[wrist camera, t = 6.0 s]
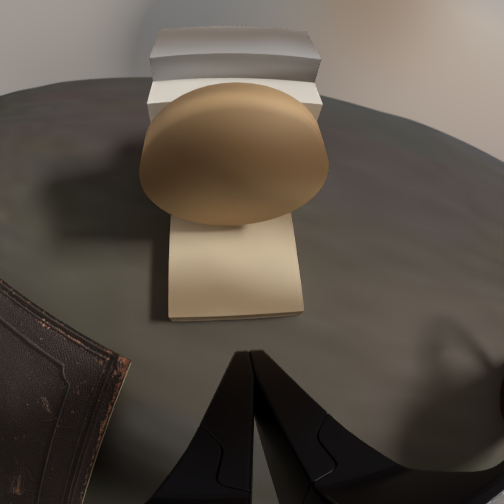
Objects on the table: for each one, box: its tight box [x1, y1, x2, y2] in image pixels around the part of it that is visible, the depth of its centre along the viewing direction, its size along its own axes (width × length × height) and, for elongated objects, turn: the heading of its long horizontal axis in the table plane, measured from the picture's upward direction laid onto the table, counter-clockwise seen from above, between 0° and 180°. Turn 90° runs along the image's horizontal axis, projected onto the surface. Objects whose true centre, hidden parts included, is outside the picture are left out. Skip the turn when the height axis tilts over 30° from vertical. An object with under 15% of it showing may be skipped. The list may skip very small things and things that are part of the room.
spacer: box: [147, 78, 323, 122], centre depth 14 cm, size 2×7×7 cm, turn 94°
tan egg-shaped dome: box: [139, 82, 329, 226], centre depth 14 cm, size 9×8×8 cm
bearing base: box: [150, 26, 321, 322], centre depth 14 cm, size 12×7×10 cm, turn 4°
